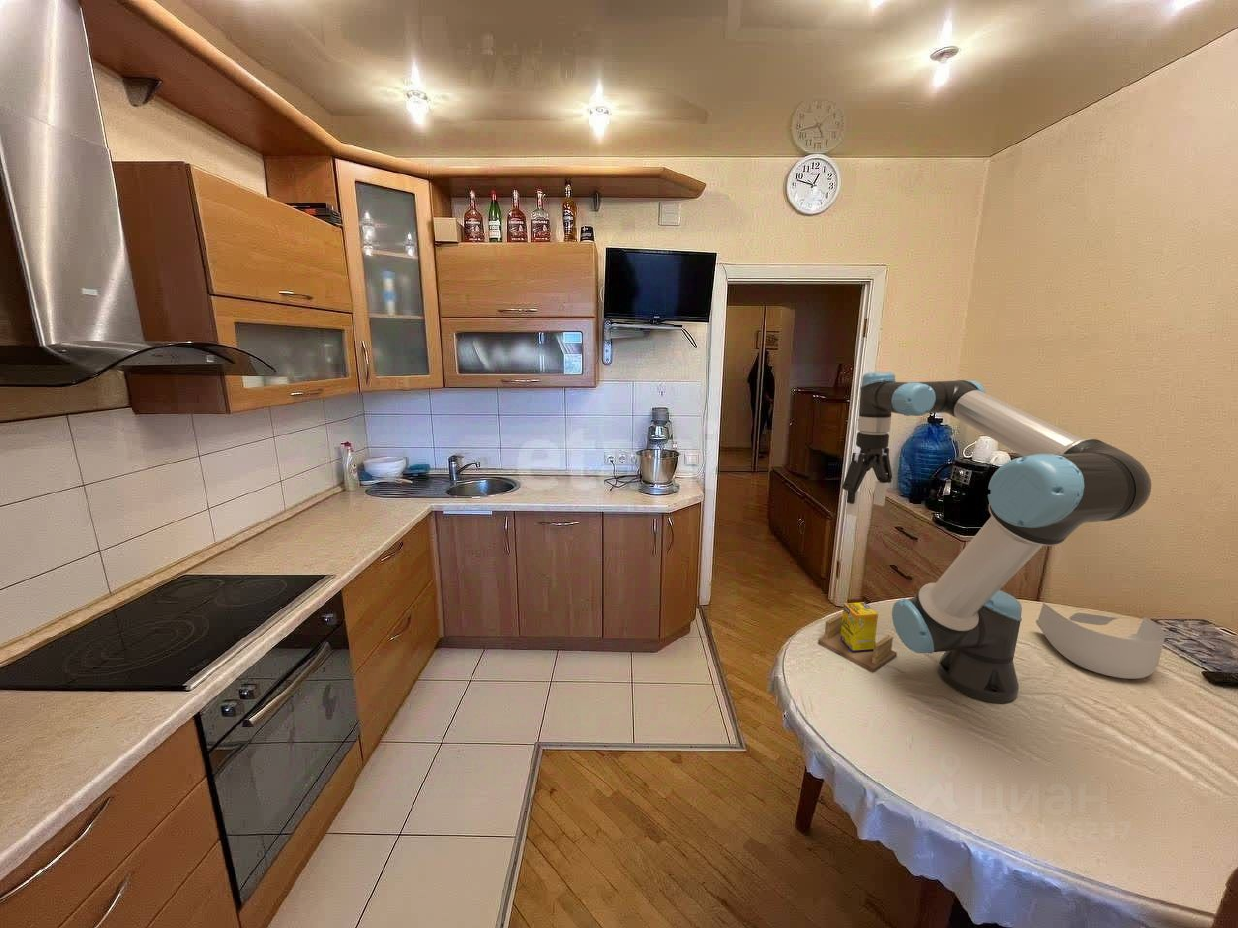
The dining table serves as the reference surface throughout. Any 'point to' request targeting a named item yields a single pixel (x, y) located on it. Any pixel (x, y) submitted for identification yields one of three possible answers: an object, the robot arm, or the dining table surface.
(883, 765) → the dining table surface
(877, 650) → the stand
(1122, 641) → the bowl
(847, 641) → the supplement box
